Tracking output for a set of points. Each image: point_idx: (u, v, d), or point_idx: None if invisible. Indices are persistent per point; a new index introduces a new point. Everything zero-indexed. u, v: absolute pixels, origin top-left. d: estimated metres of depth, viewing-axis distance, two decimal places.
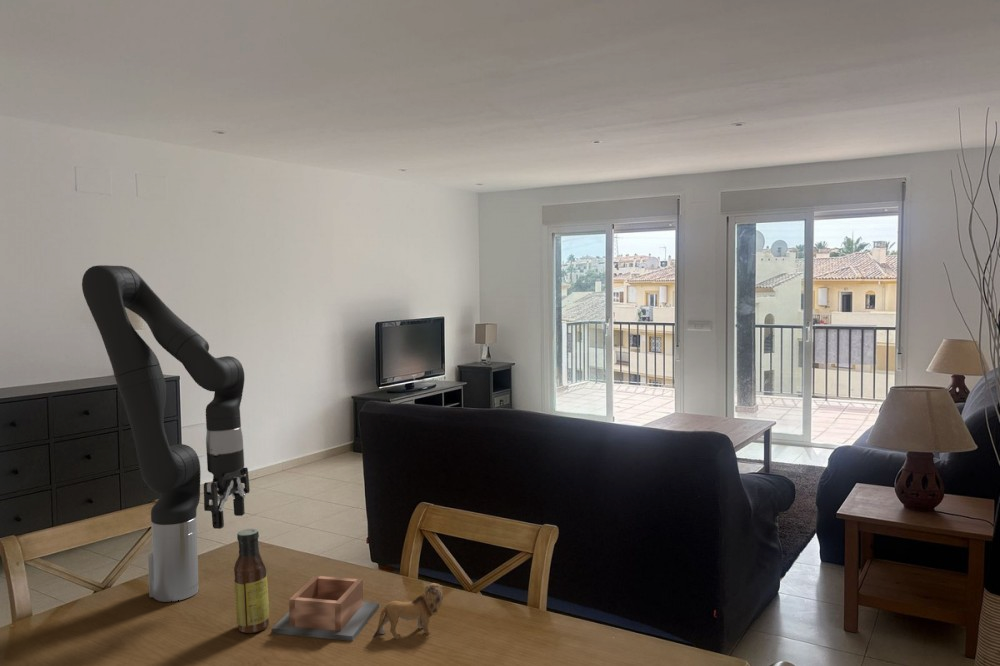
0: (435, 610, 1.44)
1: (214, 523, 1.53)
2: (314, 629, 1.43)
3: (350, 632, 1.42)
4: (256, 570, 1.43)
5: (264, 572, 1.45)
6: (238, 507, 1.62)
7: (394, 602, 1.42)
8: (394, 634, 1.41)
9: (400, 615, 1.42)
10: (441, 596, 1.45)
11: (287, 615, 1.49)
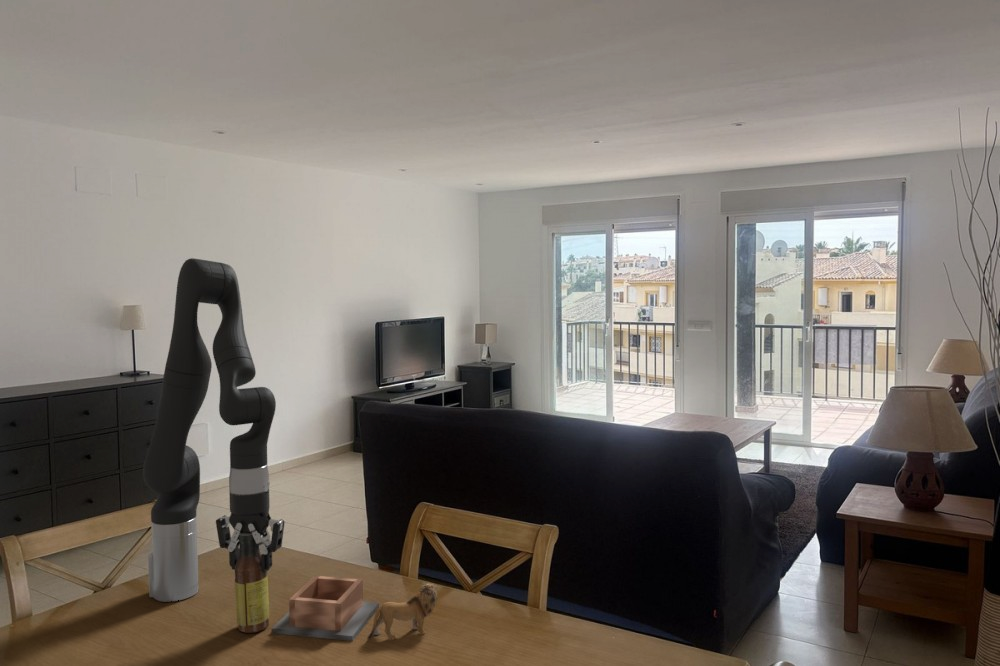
0: (430, 611, 1.43)
1: (269, 565, 1.44)
2: (314, 629, 1.43)
3: (350, 632, 1.42)
4: (257, 570, 1.43)
5: (264, 572, 1.45)
6: (237, 559, 1.45)
7: (389, 603, 1.42)
8: (389, 635, 1.41)
9: (395, 616, 1.42)
10: (436, 596, 1.45)
11: (287, 615, 1.49)
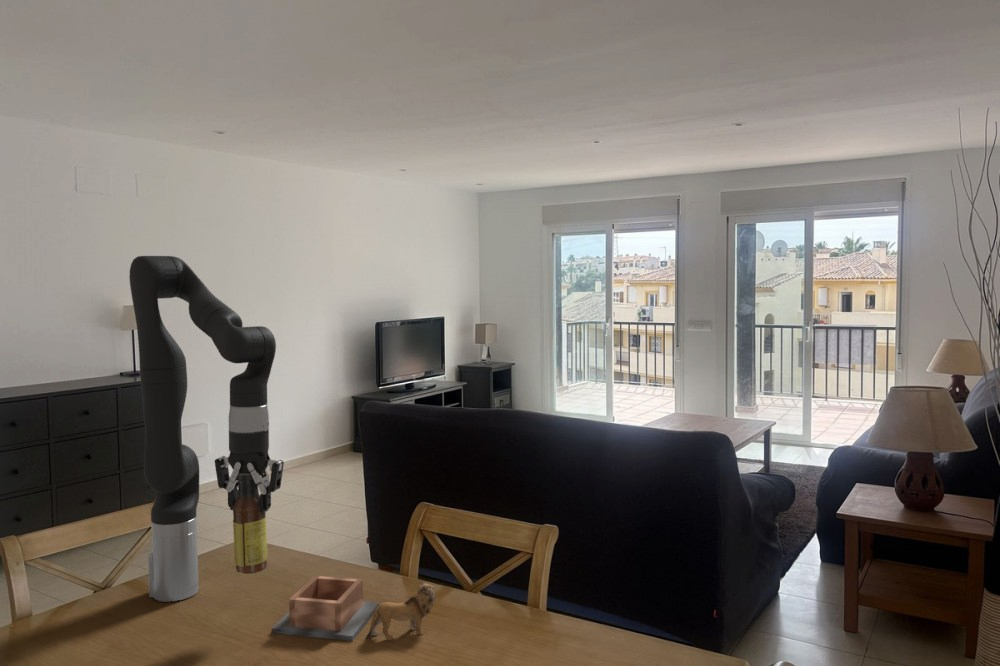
0: (427, 611, 1.43)
1: (268, 505, 1.43)
2: (314, 629, 1.43)
3: (350, 632, 1.42)
4: (255, 510, 1.42)
5: (263, 513, 1.44)
6: None
7: (387, 604, 1.42)
8: (386, 635, 1.41)
9: (392, 616, 1.41)
10: (433, 597, 1.45)
11: (287, 615, 1.49)
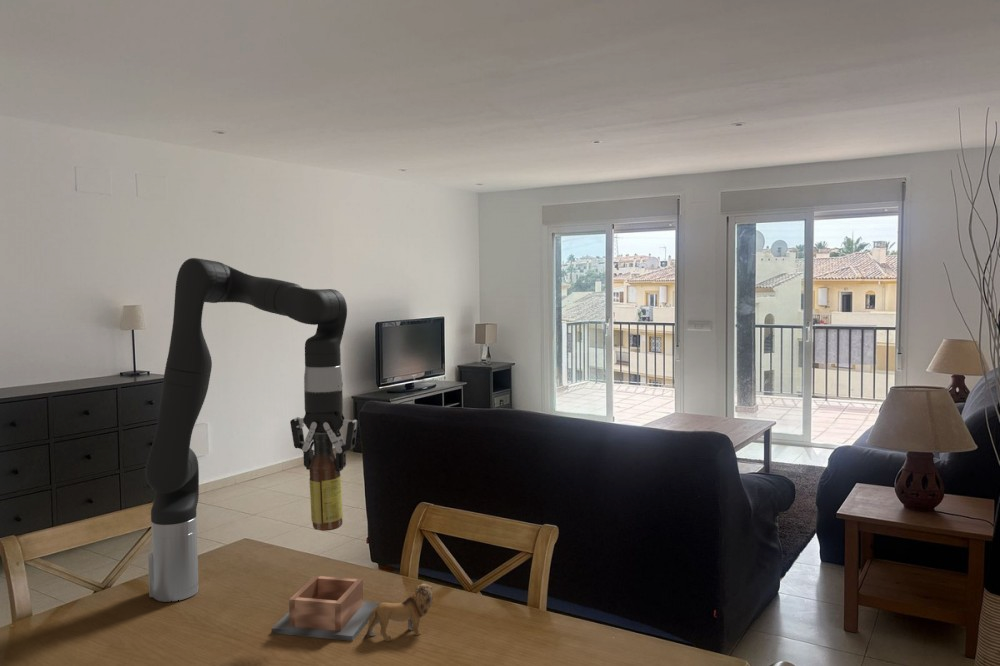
0: (425, 611, 1.43)
1: (343, 464, 1.46)
2: (314, 629, 1.43)
3: (350, 632, 1.42)
4: (332, 468, 1.45)
5: (338, 472, 1.47)
6: (311, 459, 1.47)
7: (384, 604, 1.41)
8: (384, 636, 1.41)
9: (390, 617, 1.41)
10: (431, 597, 1.45)
11: (287, 615, 1.49)
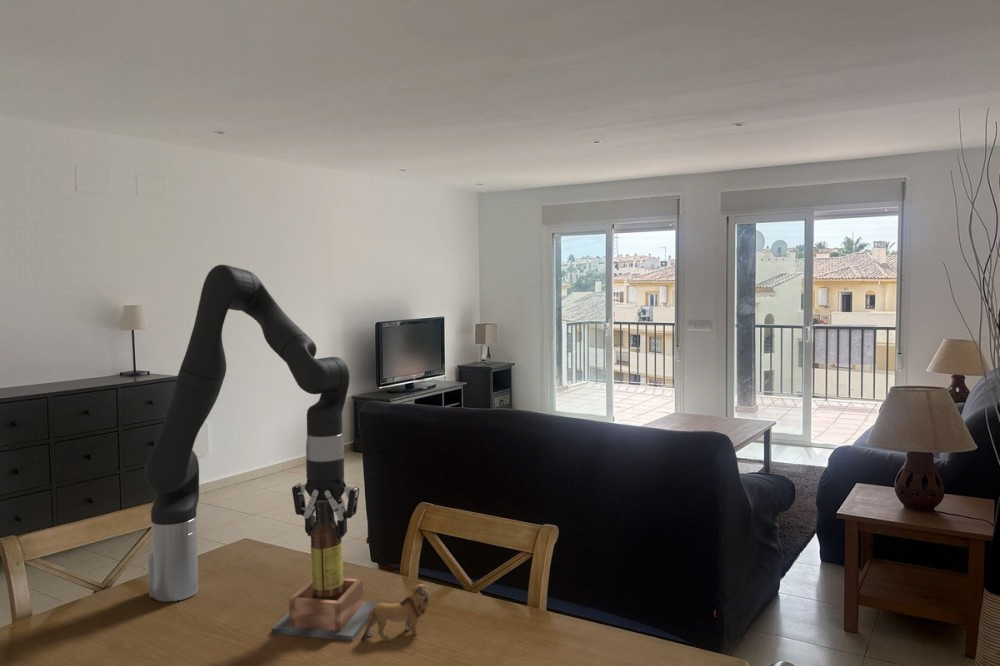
0: (423, 611, 1.43)
1: (344, 531, 1.47)
2: (314, 629, 1.43)
3: (350, 632, 1.42)
4: (333, 535, 1.46)
5: (339, 538, 1.48)
6: (312, 526, 1.49)
7: (382, 604, 1.41)
8: (382, 636, 1.40)
9: (388, 617, 1.41)
10: (429, 597, 1.45)
11: (287, 615, 1.49)
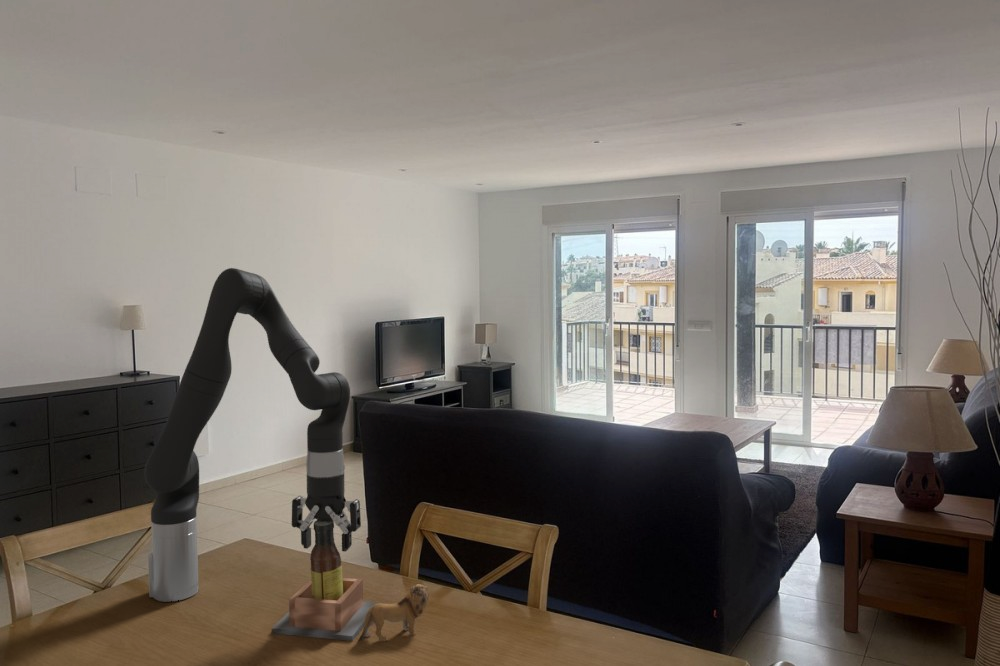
0: (421, 611, 1.43)
1: (349, 544, 1.47)
2: (314, 629, 1.43)
3: (350, 632, 1.42)
4: (333, 559, 1.46)
5: (339, 561, 1.48)
6: (308, 538, 1.49)
7: (380, 605, 1.41)
8: (380, 637, 1.40)
9: (386, 617, 1.41)
10: (426, 597, 1.44)
11: (287, 615, 1.49)
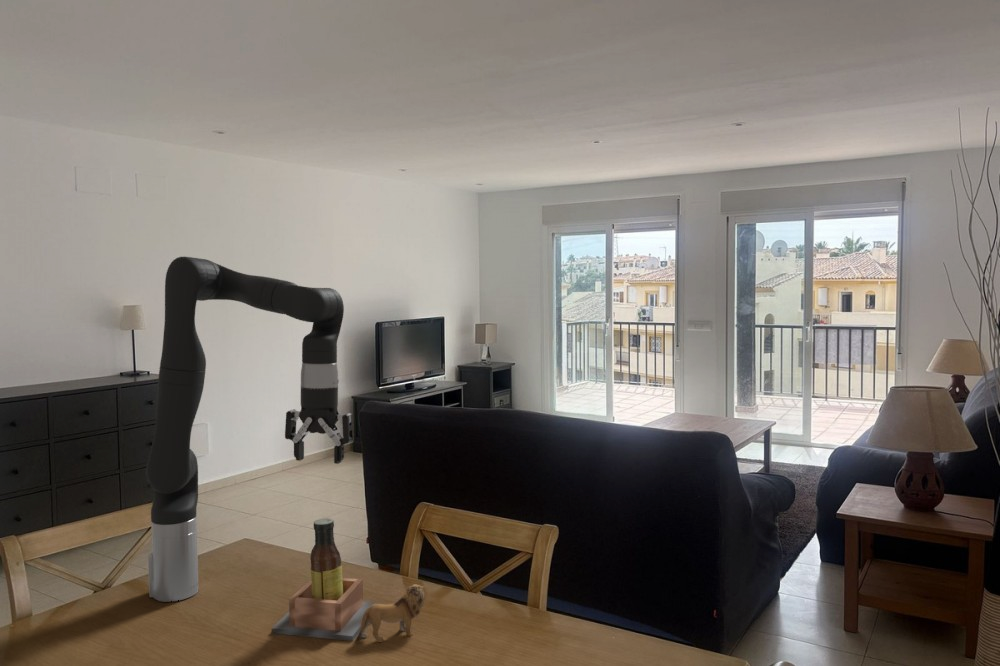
0: (417, 611, 1.43)
1: (341, 457, 1.49)
2: (314, 629, 1.43)
3: (350, 632, 1.42)
4: (333, 558, 1.46)
5: (339, 560, 1.48)
6: (301, 451, 1.51)
7: (376, 605, 1.41)
8: (377, 637, 1.40)
9: (382, 618, 1.41)
10: (423, 597, 1.44)
11: (287, 615, 1.49)
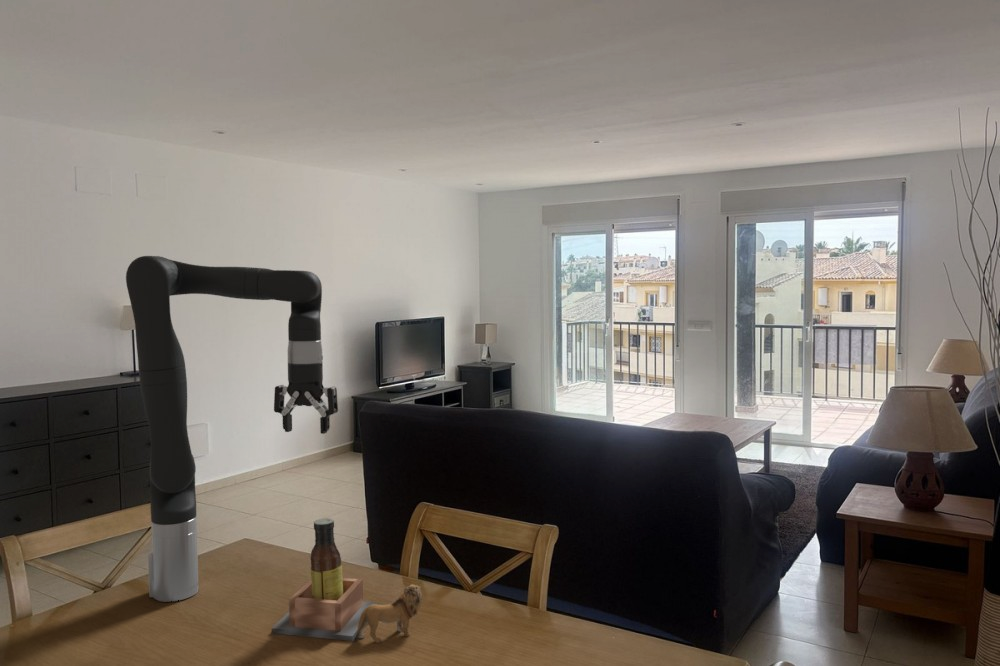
0: (415, 612, 1.43)
1: (327, 427, 1.61)
2: (314, 629, 1.43)
3: (350, 632, 1.42)
4: (333, 558, 1.46)
5: (339, 560, 1.48)
6: (289, 423, 1.62)
7: (374, 606, 1.41)
8: (374, 638, 1.40)
9: (380, 618, 1.41)
10: (420, 597, 1.44)
11: (287, 615, 1.49)
